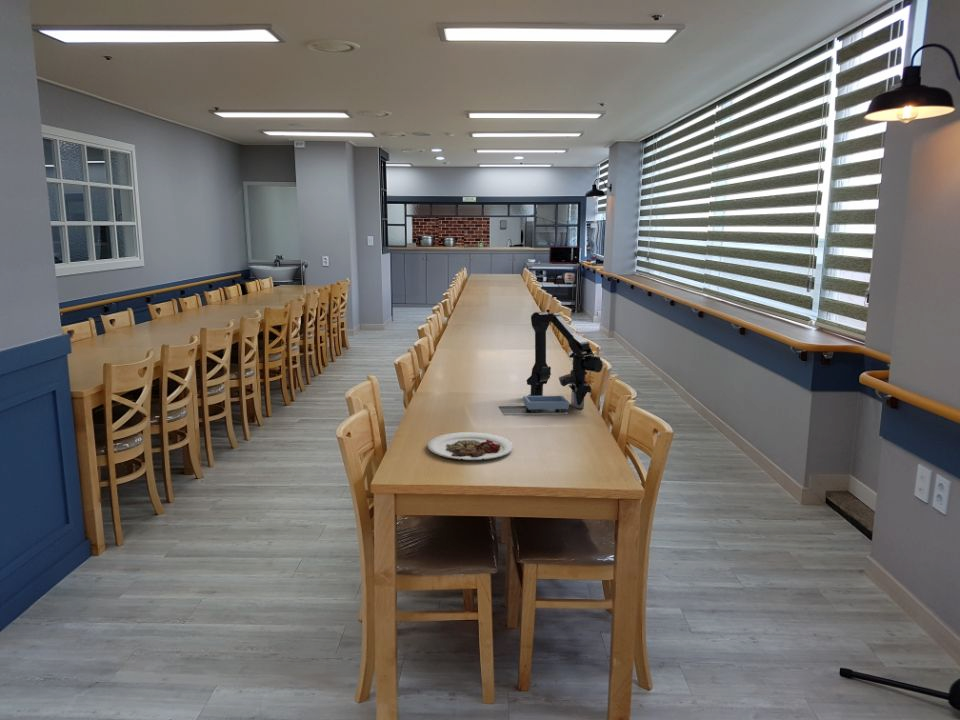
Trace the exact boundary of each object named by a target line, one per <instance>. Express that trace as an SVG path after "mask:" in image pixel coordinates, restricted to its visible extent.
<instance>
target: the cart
mask: <svg viewBox="0 0 960 720" xmlns="http://www.w3.org/2000/svg"><path fill="white" fill-rule="evenodd" d="M522 399H523V402H522V403H523V405H525V406H526V407H527V408H528V409H530V412H531V413H535V409H560V411H561V412H566V411H567V410H569V408H570V407H569V405H570V402H569V401H568V399H566V398H565V397H564V396H563V395H543V396H528V395H523V398H522Z"/></svg>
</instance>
